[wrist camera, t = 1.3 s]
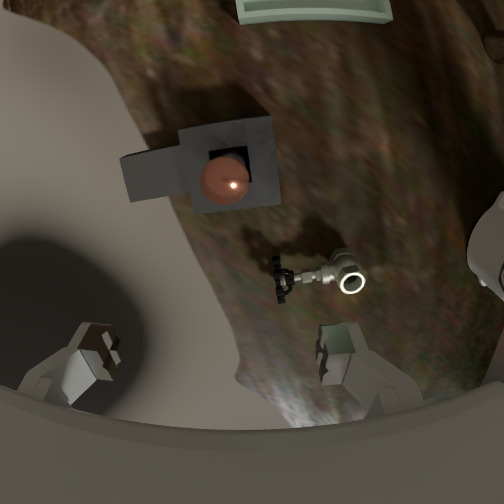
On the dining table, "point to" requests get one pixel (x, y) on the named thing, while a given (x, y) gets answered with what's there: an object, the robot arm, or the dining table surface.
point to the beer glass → (494, 44)
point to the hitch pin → (225, 177)
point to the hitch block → (196, 158)
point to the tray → (314, 10)
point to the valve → (322, 274)
